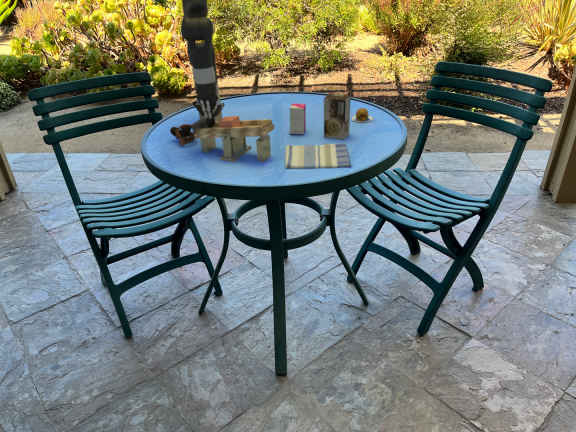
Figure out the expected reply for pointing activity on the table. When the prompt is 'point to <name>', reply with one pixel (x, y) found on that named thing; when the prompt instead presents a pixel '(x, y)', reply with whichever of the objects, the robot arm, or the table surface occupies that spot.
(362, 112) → the hamburger
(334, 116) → the coffee box
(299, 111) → the supplement box
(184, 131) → the pottery mug
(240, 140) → the stand
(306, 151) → the dish towel
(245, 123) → the beam
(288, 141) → the table surface
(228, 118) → the block
